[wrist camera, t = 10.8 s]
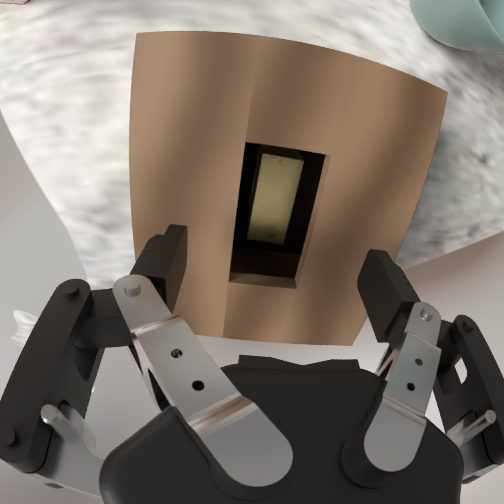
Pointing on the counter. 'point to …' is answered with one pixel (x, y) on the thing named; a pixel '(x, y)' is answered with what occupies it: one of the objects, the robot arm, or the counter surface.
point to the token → (273, 192)
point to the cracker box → (13, 2)
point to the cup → (463, 23)
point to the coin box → (284, 135)
